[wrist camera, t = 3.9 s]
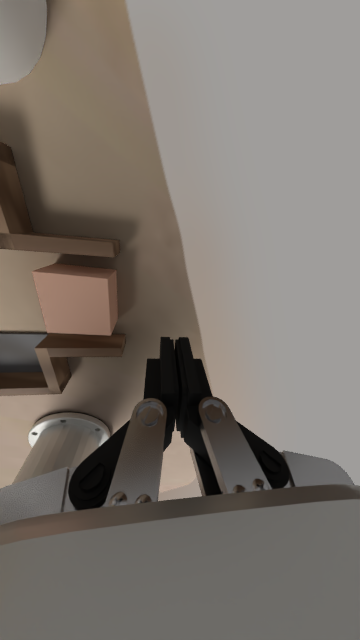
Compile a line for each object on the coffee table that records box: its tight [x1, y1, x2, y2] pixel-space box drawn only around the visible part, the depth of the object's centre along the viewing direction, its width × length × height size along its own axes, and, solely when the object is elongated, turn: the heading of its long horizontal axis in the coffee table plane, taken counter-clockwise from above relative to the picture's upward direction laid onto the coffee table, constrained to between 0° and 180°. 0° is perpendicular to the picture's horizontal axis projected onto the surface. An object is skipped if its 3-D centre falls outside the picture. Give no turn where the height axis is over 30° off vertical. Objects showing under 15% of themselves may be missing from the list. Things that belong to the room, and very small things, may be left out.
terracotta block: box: [32, 263, 118, 336], centre depth 18 cm, size 6×6×4 cm
